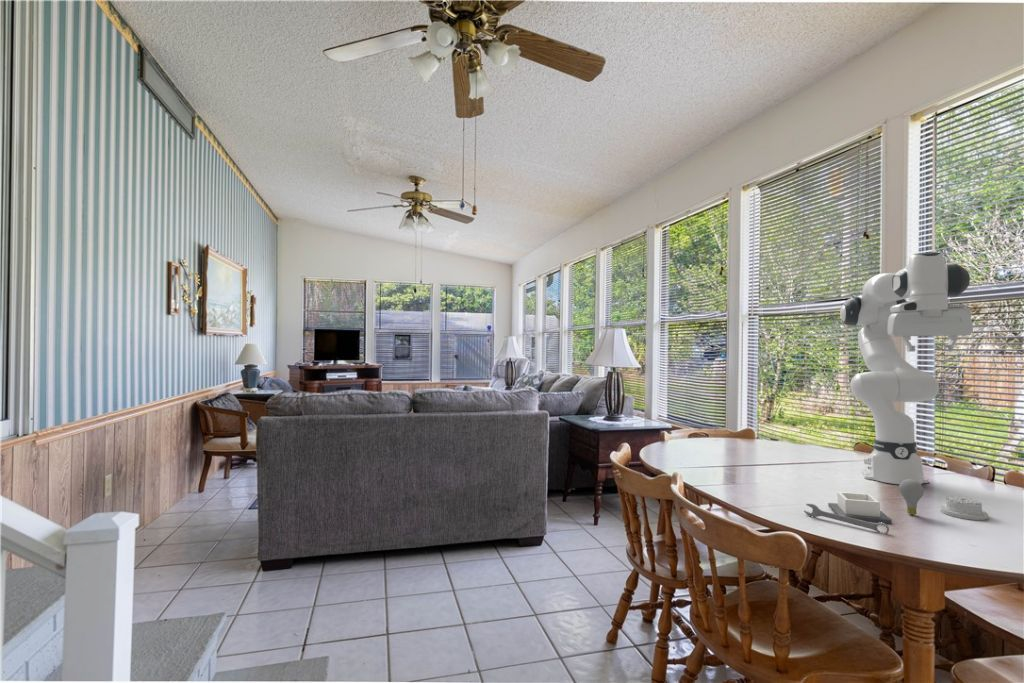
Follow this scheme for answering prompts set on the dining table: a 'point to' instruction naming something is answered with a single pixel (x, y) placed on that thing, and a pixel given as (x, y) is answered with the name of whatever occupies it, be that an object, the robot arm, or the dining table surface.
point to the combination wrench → (844, 518)
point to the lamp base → (859, 507)
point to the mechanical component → (964, 508)
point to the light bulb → (911, 494)
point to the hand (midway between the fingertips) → (929, 351)
